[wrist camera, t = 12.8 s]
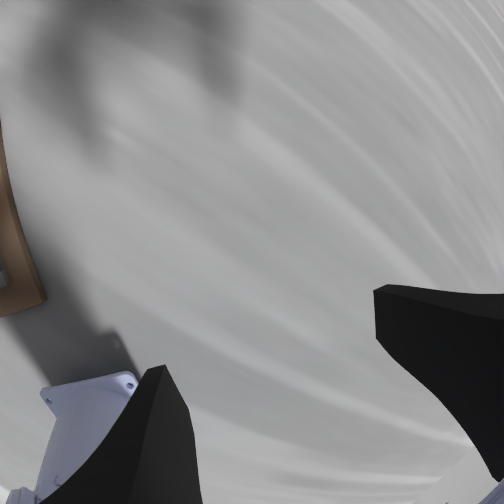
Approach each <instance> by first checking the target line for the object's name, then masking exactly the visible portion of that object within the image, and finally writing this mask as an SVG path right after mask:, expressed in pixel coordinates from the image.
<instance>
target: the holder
mask: <svg viewBox="0 0 504 504" xmlns="http://www.w3.org/2000/svg"><path fill="white" fill-rule="evenodd" d="M46 300H47V297H46V294H45V292H44V290H43V287H42V285H41V282H40V280H39V277H38V275H37V272H36V269H35V267H34V264H33V261H32V258H31V256H30V253H29V250H28V247H27V244H26V241H25V238H24V234H23V231H22V228H21V224H20V221H19V217H18V214H17V210H16V206H15V202H14V198H13V194H12V190H11V185H10V180H9V176H8V171H7V165H6V159H5V153H4V147H3V140H2V132H1V123H0V317H3V316H6V315H9V314H12V313H15V312H18V311H21V310H24V309H27V308H30V307H33V306H36V305H39V304H42V303H44V302H45V301H46Z"/></svg>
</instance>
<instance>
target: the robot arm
mask: <svg viewBox="0 0 504 504" xmlns="http://www.w3.org/2000/svg"><path fill="white" fill-rule="evenodd" d="M373 293H374V308H375V327H376V339H377V340H378V341H379V343H380V344H381V345H382V346H383V348H384V349H385V350H386V351H387V352H388V354H389V355H390V356H391V357H392V358H393V359H394V360H395V361H396V362H398V363H399V364H400V365H401V366H402V367H403V368H404V369H405V370H407V371H408V372H409V373H410V374H411V375H412V376H414V377H415V378H416V379H417V380H418V381H419V382H420V383H422V384H423V385H424V386H425V387H426V388H427V389H429V390H430V391H431V392H432V393H433V394H434V395H435V396H436V397H437V398H438V399H439V400H440V401H441V402H442V404H443V405H444V406H445V407H446V408H447V409H448V410H449V412H450V413H451V414H452V415H453V416H454V418H455V419H456V420H457V422H458V423H459V424H460V425H461V427H462V428H463V429H464V431H465V432H466V433H467V435H468V436H469V438H470V439H471V441H472V442H473V444H474V445H475V446H476V448H477V450H478V451H479V453H480V455H481V456H482V458H483V460H484V462H485V464H486V465H487V467H488V469H489V471H490V473H491V475H492V477H493V478H494V479H495V480H496V481H498V482H501V481H502V482H501V483H500V484H499V485H498V486H497V487H496V488H495V489H494V490H493V491H492V492H491V493H489V495H488V496H486V497H485V498H484V499H483V500H482V501H481V502H480V503H479V504H504V480H503V479H504V294H470V293H458V292H449V291H440V290H433V289H426V288H419V287H411V286H403V285H391V284H387V285H384V286H382V287H380V288H378V289H375V290H373ZM128 383H132V384H133V385H129V384H128ZM40 395H41V397H42V399H43V400H44V401H45V403H46V404H47V406H48V407H49V408H50V410H51V411H52V412H53V414H54V415H55V416H56V418H57V419H56V422H55V425H54V428H53V431H52V434H51V437H50V440H49V443H48V446H47V449H46V452H45V456H44V459H43V462H42V466H41V469H40V473H39V476H38V480H37V484H36V488H35V490H34V491H31V490H29V489H27V488H26V487H21V488H20V489H15V490H11V492H10V494H9V496H8V499H7V501H6V504H203V502H202V497H201V492H200V484H199V475H198V466H197V457H196V447H195V437H194V431H193V427H192V422H191V418H190V413H189V409H188V407H187V405H186V404H185V402H184V400H183V398H182V396H181V394H180V392H179V391H178V389H177V387H176V385H175V383H174V381H173V379H172V377H171V375H170V373H169V371H168V369H167V367H166V365H161V366H157V367H154V368H150V369H147V371H146V372H145V374H144V375H143V377H142V379H141V380H140V382H139V383H138V381H137V380H136V378H135V376H134V375H133V373H131V372H129V371H122V372H118V373H114V374H110V375H105V376H101V377H97V378H92V379H87V380H83V381H78V382H73V383H68V384H63V385H58V386H52V387H47V388H42V389H41V391H40ZM49 399H50V400H49Z"/></svg>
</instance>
